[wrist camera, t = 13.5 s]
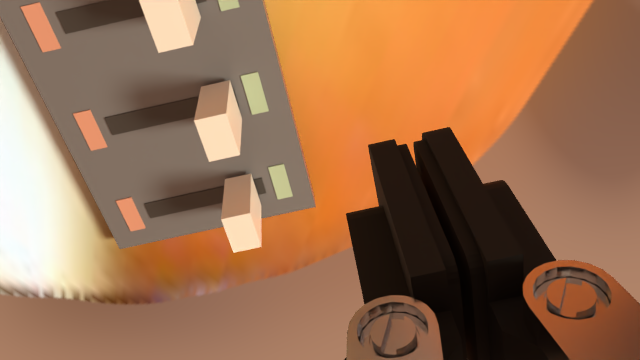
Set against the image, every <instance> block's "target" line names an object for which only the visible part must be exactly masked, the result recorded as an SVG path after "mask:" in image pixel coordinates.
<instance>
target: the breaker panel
mask: <svg viewBox="0 0 640 360" xmlns="http://www.w3.org/2000/svg"><path fill="white" fill-rule="evenodd" d="M195 1H196V4H197V7H198V10H199V13H200V16H201V19H200V22H199V26H198V29H197V33H196V37H195V40H194V44H193V45H191V46H187V47H182V48H178V49H174V50H169V51H165V52H161V53H158V50H157V47H156V45H155V42H154V39H153V37H152V34H151V31H150V29H149V26H148V23H147V21H146V18H145V15H144V13H143V10H142V7H141V5H140V2H139V0H0V17H1V19H2V21H3V23H4V25H5V27H6V29H7V31H8V33H9V35H10V37H11V39H12V41H13V43H14V45H15V47H16V48H17V50H18V52H19V54H20V56H21V58H22V60H23V62H24V64H25V66H26V68H27V70H28V72H29V74H30V76H31V78H32V79H33V81H34V83H35V85H36V87H37V89H38V91H39V93H40V95H41V97H42V99H43V101H44V103H45V105H46V107H47V109H48V111H49V112H50V114H51V116H52V118H53V120H54V122H55V124H56V126H57V128H58V130H59V132H60V134H61V136H62V138H63V140H64V142H65V144H66V145H67V147H68V149H69V151H70V153H71V155H72V157H73V159H74V161H75V163H76V165H77V167H78V169H79V171H80V173H81V175H82V176H83V178H84V180H85V182H86V184H87V186H88V188H89V190H90V192H91V194H92V196H93V198H94V200H95V202H96V204H97V206H98V208H99V209H100V211H101V213H102V215H103V217H104V219H105V221H106V223H107V225H108V227H109V229H110V231H111V233H112V235H113V237H114V239H115V241H116V242H117V244H118V246H119V248H120V249H123V248H127V247H132V246H136V245H141V244H146V243H150V242H155V241H160V240H164V239H169V238H173V237H178V236H183V235H187V234H192V233H197V232H201V231H206V230H210V229H215V228H220V227H224V226H223V223H222V220H221V215H222V205H223V194H224V184H225V179H228V178H233V177H237V176H242V175H246V174H251V175H252V178H253V181H254V184H255V187H256V190H257V193H258V197H259V200H260V203H261V218H266V217H271V216H275V215H280V214H285V213H289V212H294V211H298V210H303V209H308V208H312V207H316V206H315V199H314V193H313V190H312V186H311V182H310V178H309V174H308V170H307V166H306V162H305V158H304V155H303V151H302V147H301V143H300V139H299V135H298V131H297V127H296V123H295V119H294V116H293V112H292V108H291V104H290V100H289V96H288V92H287V88H286V84H285V80H284V77H283V73H282V69H281V65H280V61H279V57H278V53H277V49H276V45H275V41H274V38H273V34H272V30H271V26H270V22H269V18H268V14H267V10H266V6H265V2H264V0H195ZM228 80H230V82H231V85H232V88H233V92H234V95H235V98H236V101H237V104H238V108H239V111H240V114H241V117H242V129H241V145H240V155H238V156H234V157H229V158H225V159H220V160H216V161H211V162H209V160H208V158H207V155H206V152H205V149H204V147H203V144H202V141H201V138H200V136H199V133H198V130H197V128H196V125H195V122H194V118H195V113H196V108H197V104H198V99H199V94H200V90H201V87H202V86H206V85H211V84H215V83H220V82H224V81H228Z"/></svg>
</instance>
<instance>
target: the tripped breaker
mask: <svg viewBox="0 0 640 360" xmlns="http://www.w3.org/2000/svg"><path fill="white" fill-rule="evenodd" d="M194 122H195V125H196V128H197V130H198V133H199V136H200V138H201V141H202V144H203V147H204V149H205V152H206V155H207V158H208V160H209V162H211V161H216V160H220V159H225V158H229V157H234V156H238V155H240V145H241V129H242V117H241V114H240V111H239V108H238V104H237V101H236V98H235V95H234V92H233V88H232V85H231V82H230V80H228V81H224V82H220V83H215V84H211V85H206V86H202V87H201V90H200V94H199V99H198V104H197V108H196V113H195V118H194Z"/></svg>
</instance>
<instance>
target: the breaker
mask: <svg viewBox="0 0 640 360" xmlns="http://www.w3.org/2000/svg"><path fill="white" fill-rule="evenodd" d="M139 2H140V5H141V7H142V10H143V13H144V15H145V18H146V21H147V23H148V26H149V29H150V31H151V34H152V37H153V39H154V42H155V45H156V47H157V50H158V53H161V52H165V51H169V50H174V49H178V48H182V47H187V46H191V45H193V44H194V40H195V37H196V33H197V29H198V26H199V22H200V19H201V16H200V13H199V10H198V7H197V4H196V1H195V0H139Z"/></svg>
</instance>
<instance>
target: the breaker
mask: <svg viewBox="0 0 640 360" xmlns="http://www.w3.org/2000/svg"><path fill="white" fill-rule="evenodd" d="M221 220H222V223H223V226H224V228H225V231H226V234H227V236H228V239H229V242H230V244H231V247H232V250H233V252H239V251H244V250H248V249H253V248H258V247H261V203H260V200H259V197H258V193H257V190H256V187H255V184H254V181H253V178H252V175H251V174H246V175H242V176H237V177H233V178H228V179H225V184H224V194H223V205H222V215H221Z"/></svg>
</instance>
